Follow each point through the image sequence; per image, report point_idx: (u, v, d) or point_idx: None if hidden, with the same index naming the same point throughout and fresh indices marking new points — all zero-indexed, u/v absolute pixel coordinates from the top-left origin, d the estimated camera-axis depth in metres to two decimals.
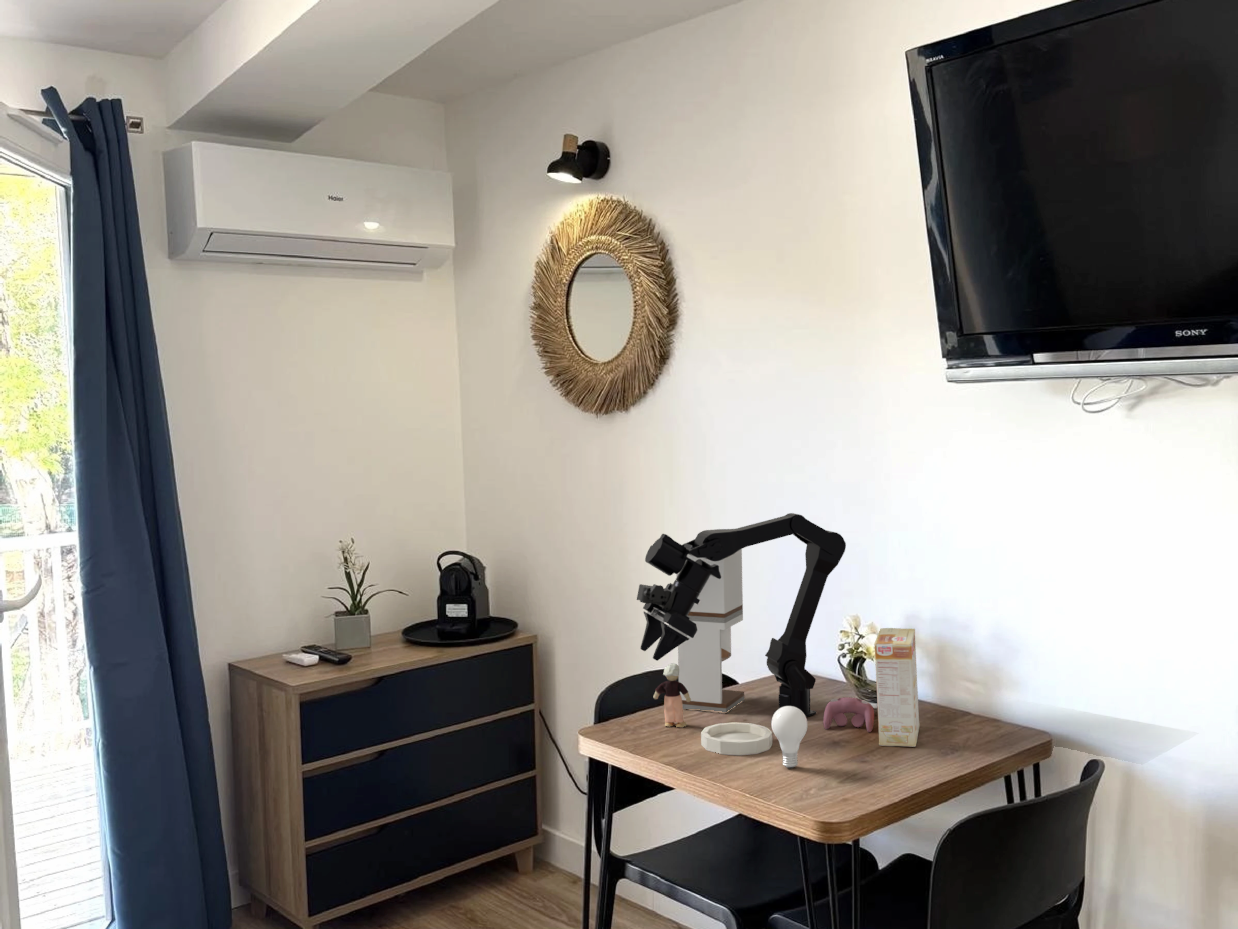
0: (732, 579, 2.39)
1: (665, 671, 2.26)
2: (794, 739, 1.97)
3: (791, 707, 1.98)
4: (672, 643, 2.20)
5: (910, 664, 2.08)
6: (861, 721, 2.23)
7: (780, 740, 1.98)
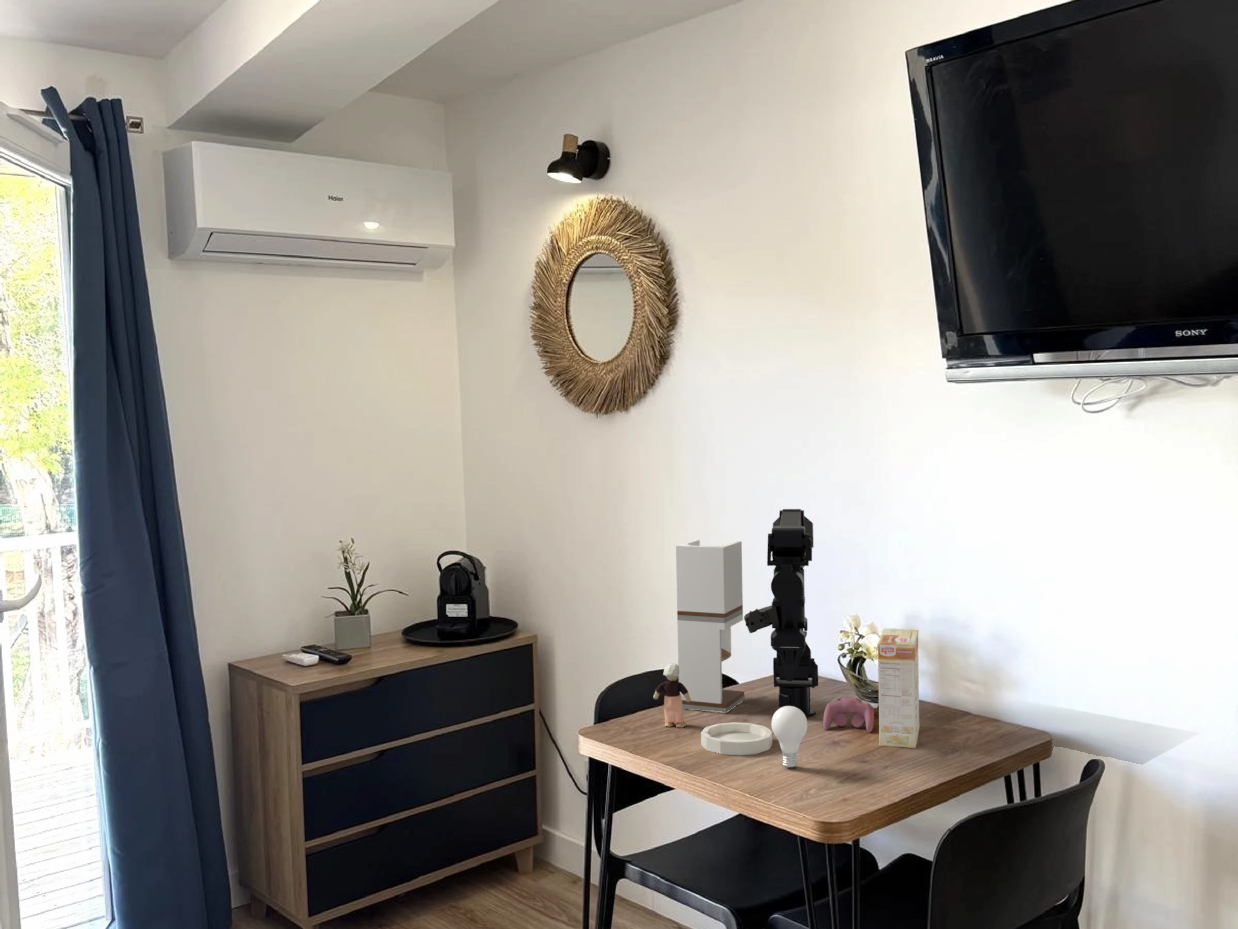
0: (732, 579, 2.39)
1: (665, 671, 2.26)
2: (794, 739, 1.97)
3: (791, 707, 1.98)
4: (794, 659, 2.07)
5: (913, 665, 2.08)
6: (861, 721, 2.23)
7: (780, 740, 1.98)
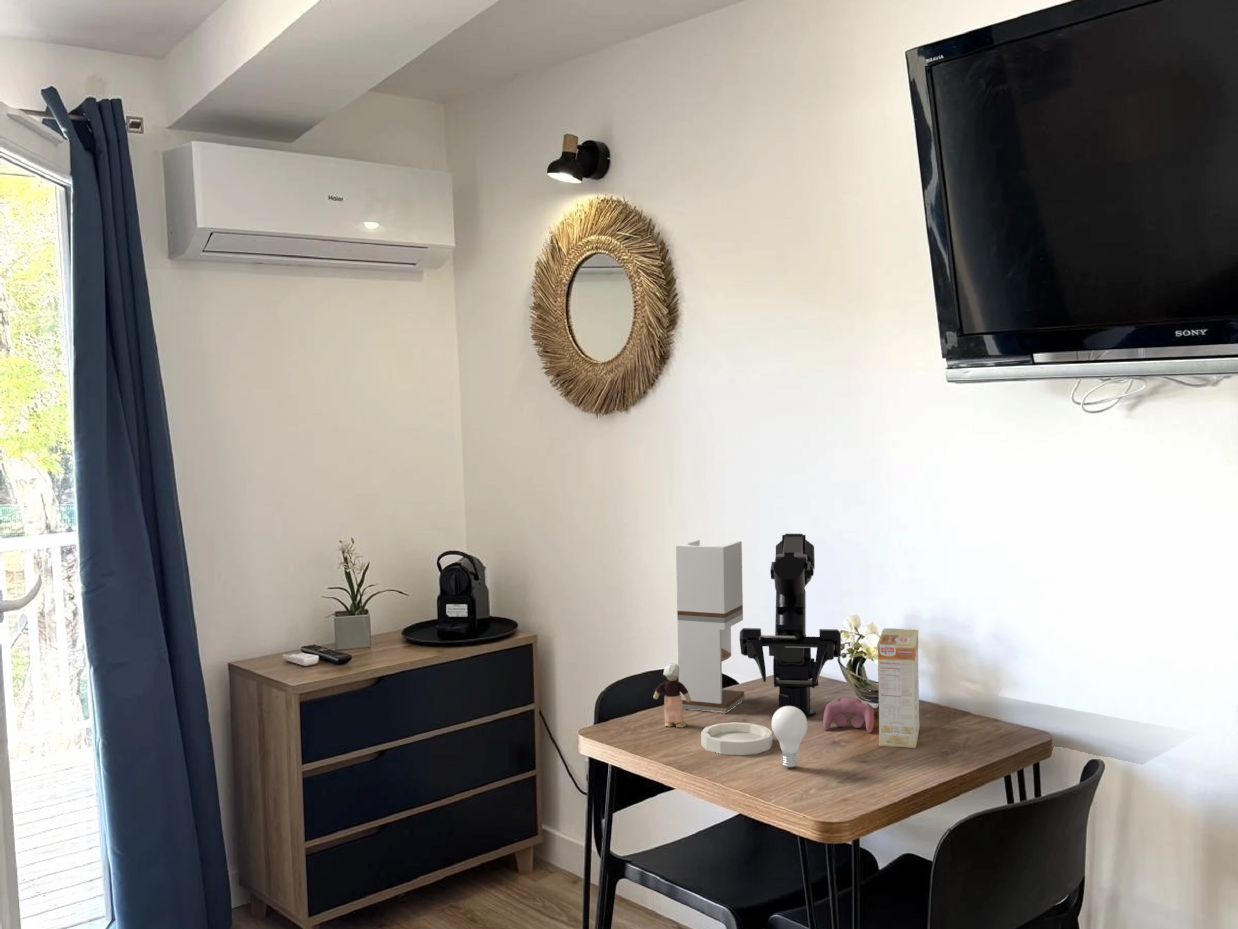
0: (732, 580, 2.39)
1: (665, 671, 2.26)
2: (794, 739, 1.97)
3: (791, 707, 1.98)
4: None
5: (913, 665, 2.08)
6: (861, 722, 2.22)
7: (780, 740, 1.98)
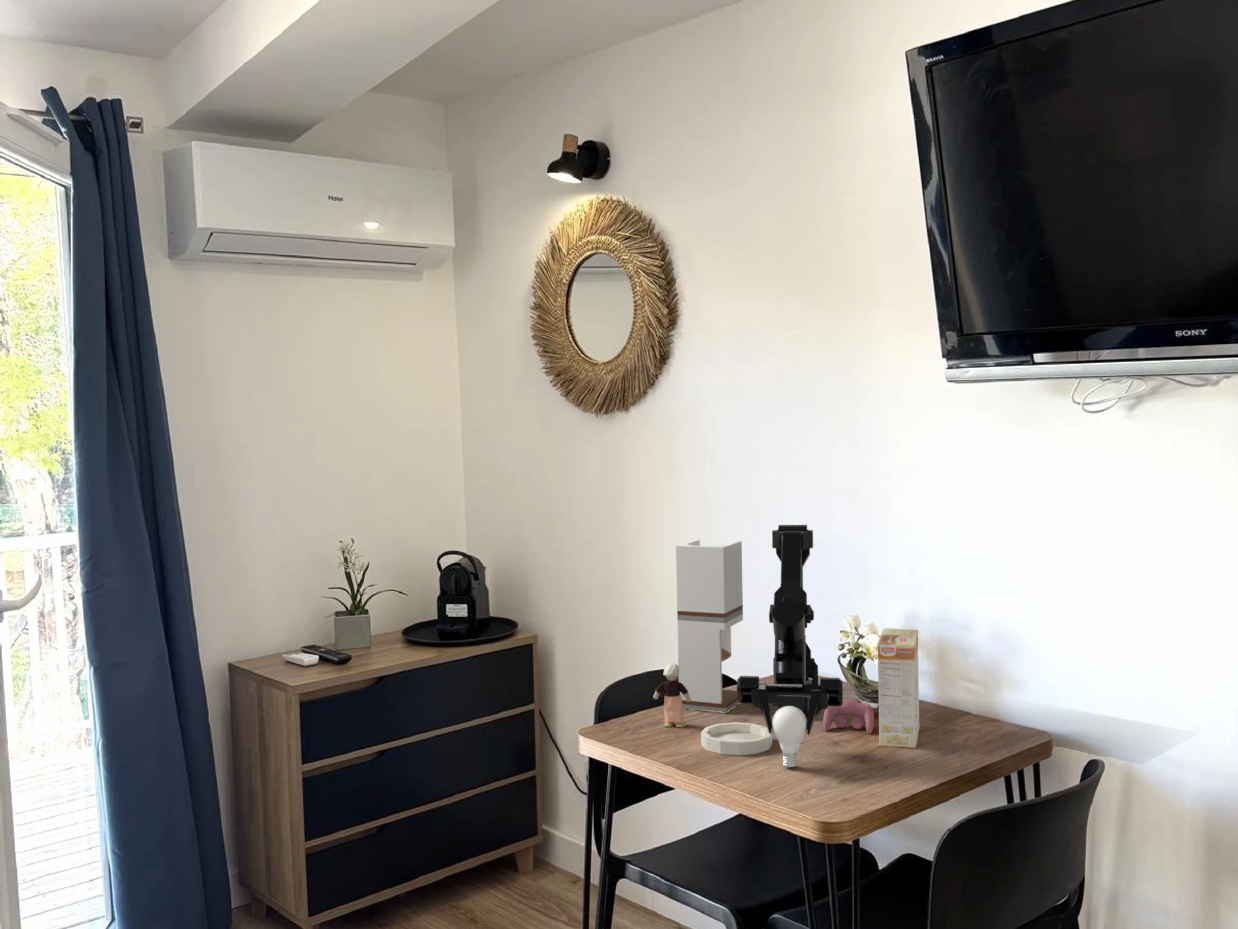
0: (732, 579, 2.39)
1: (665, 671, 2.26)
2: (794, 739, 1.97)
3: (791, 707, 1.98)
4: None
5: (913, 665, 2.08)
6: (861, 723, 2.22)
7: (780, 740, 1.98)
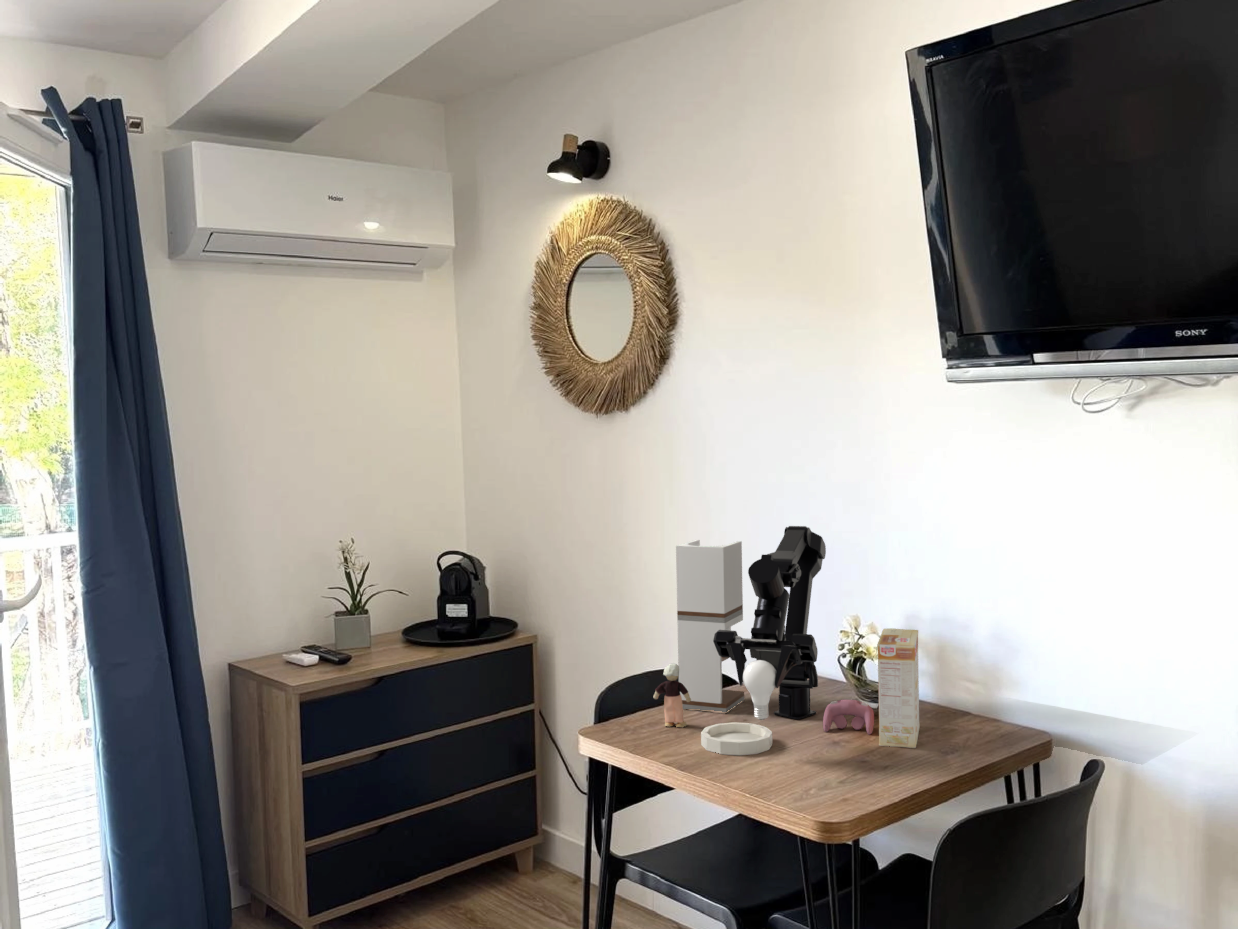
0: (732, 579, 2.39)
1: (665, 671, 2.26)
2: (762, 691, 2.04)
3: (761, 661, 2.05)
4: None
5: (913, 665, 2.08)
6: (861, 723, 2.21)
7: (750, 692, 2.05)
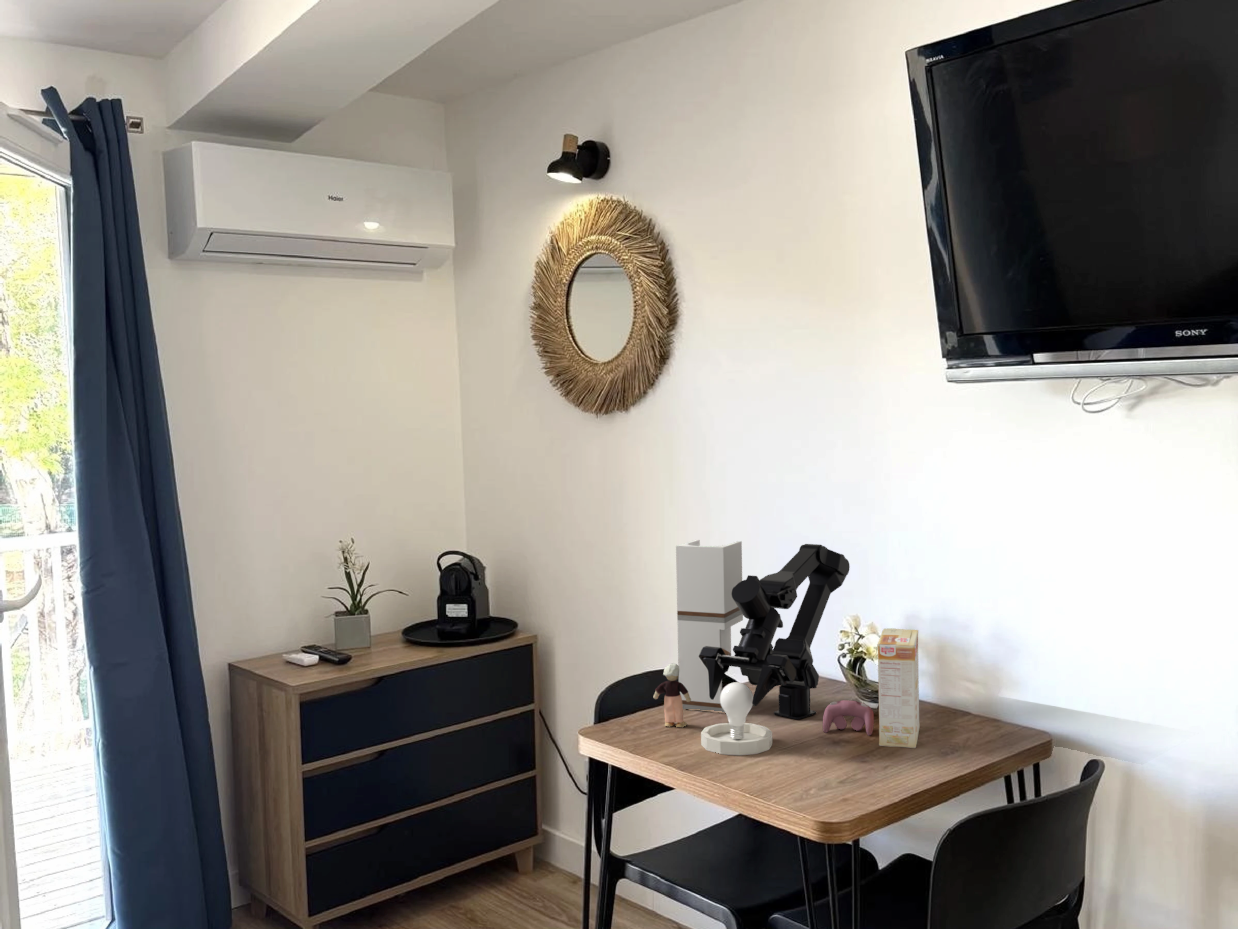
0: (732, 579, 2.39)
1: (665, 671, 2.26)
2: (735, 712, 2.11)
3: (737, 683, 2.13)
4: None
5: (913, 665, 2.08)
6: (861, 724, 2.21)
7: None
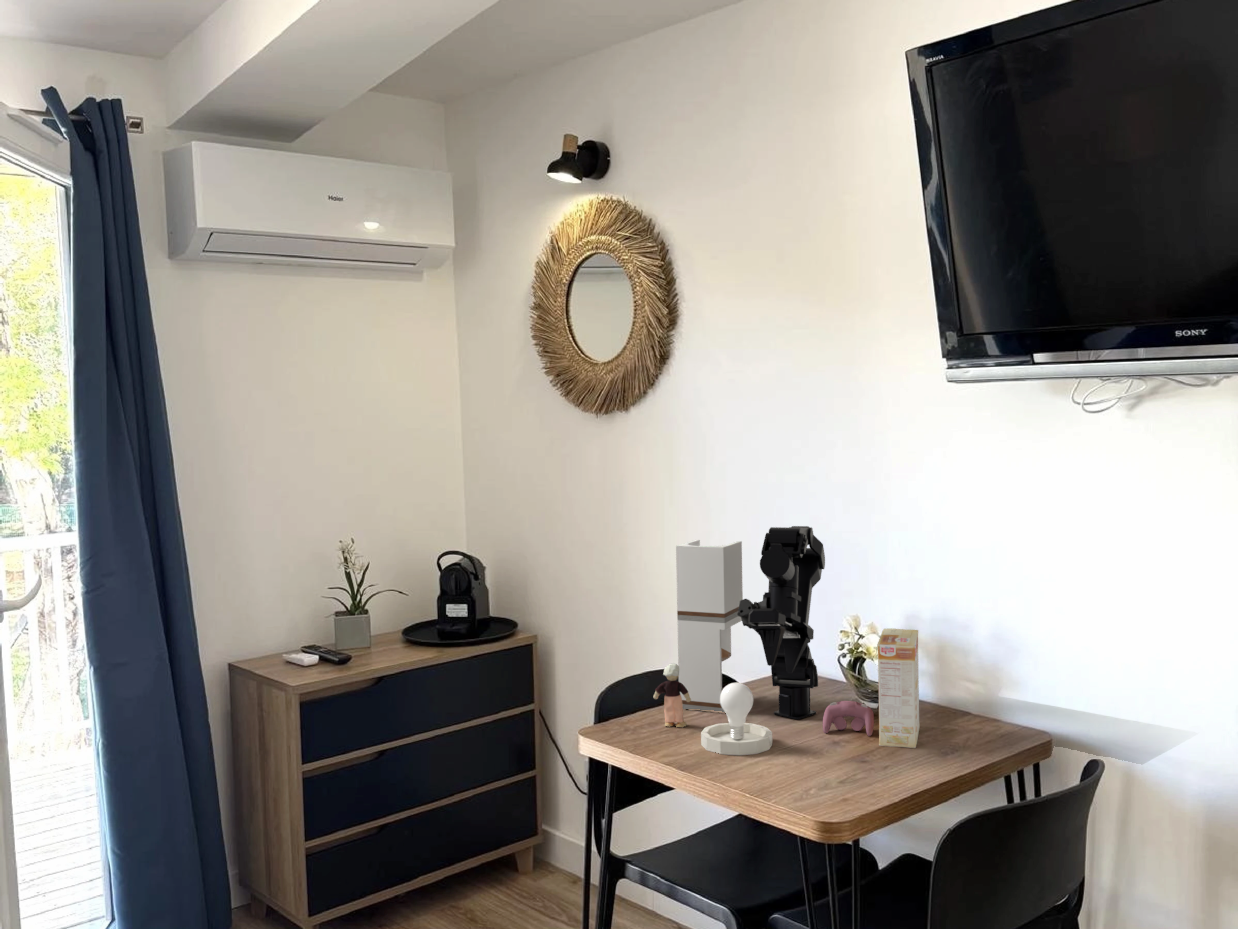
0: (732, 580, 2.39)
1: (665, 671, 2.26)
2: (735, 713, 2.11)
3: (737, 684, 2.13)
4: (773, 641, 2.12)
5: (913, 665, 2.08)
6: (861, 725, 2.20)
7: None
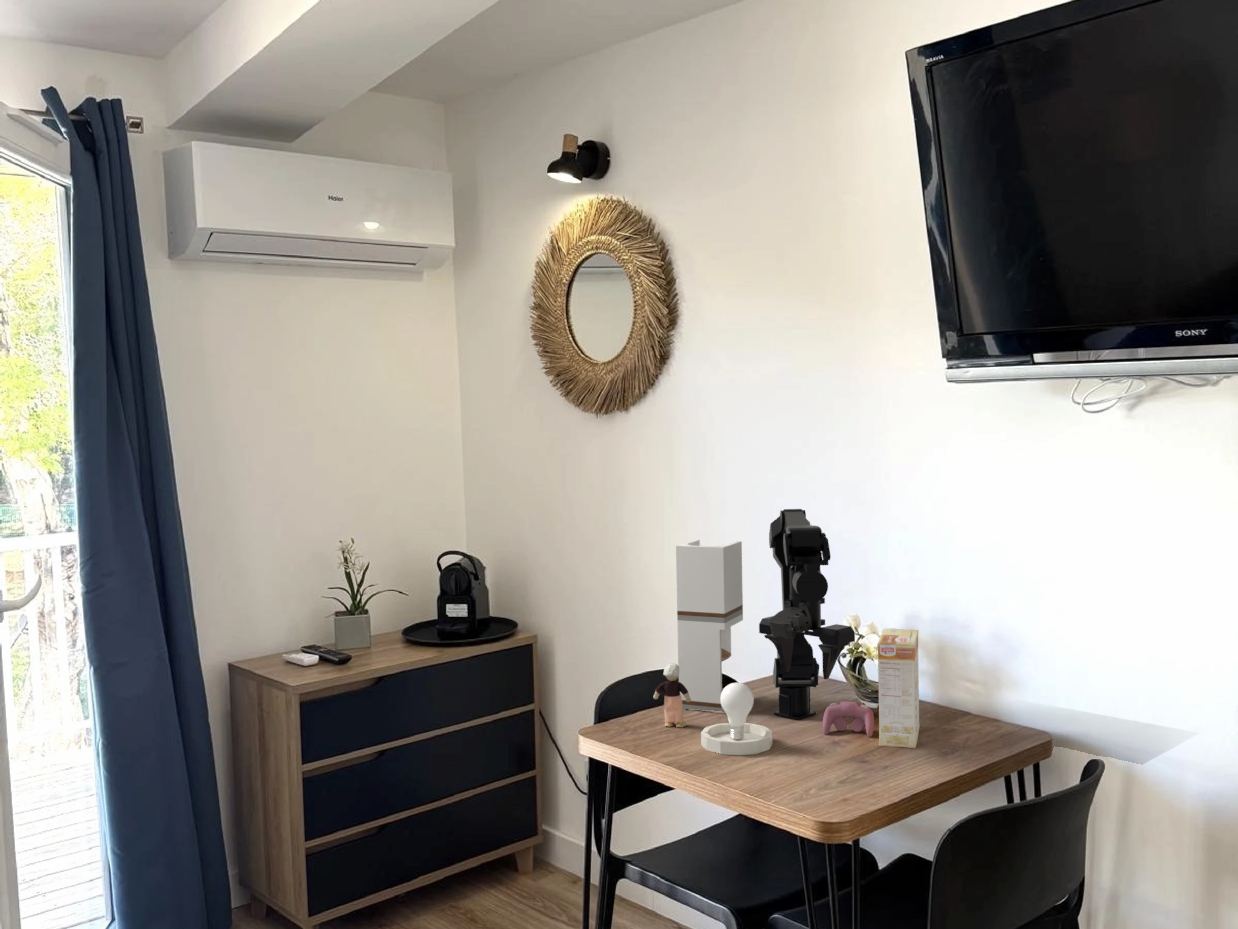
0: (732, 580, 2.39)
1: (665, 671, 2.26)
2: (735, 713, 2.11)
3: (737, 684, 2.13)
4: (835, 655, 2.09)
5: (913, 665, 2.08)
6: (861, 726, 2.20)
7: None
